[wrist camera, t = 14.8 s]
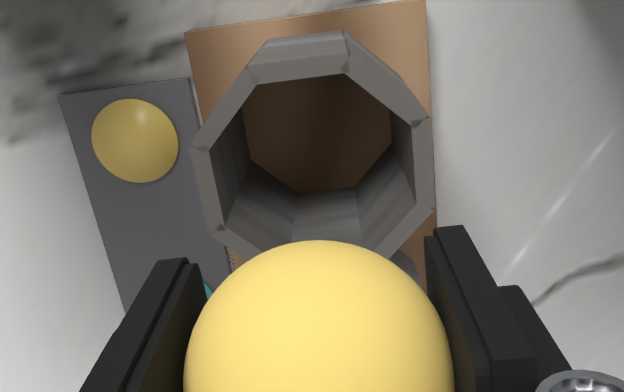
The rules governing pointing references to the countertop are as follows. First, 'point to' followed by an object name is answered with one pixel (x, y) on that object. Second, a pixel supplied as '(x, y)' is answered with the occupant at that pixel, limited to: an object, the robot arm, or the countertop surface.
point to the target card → (144, 179)
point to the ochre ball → (318, 327)
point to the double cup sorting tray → (317, 132)
